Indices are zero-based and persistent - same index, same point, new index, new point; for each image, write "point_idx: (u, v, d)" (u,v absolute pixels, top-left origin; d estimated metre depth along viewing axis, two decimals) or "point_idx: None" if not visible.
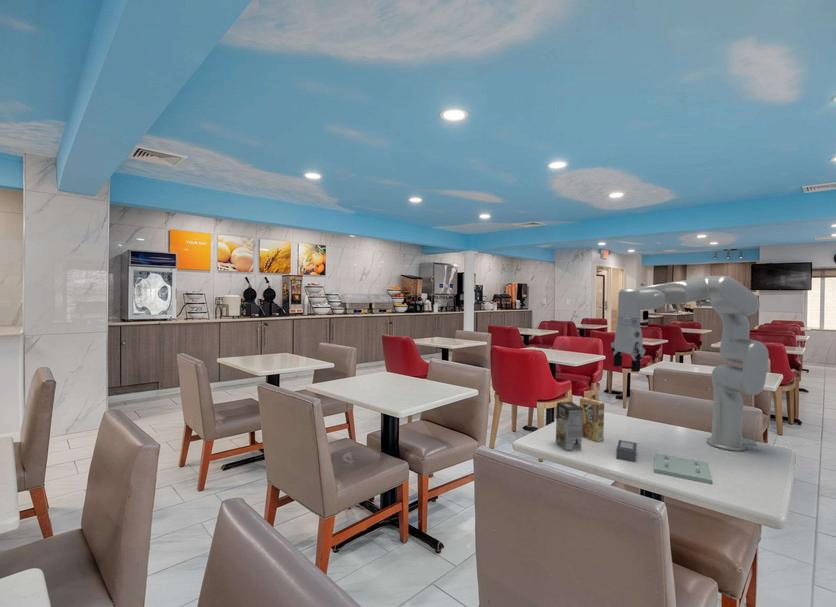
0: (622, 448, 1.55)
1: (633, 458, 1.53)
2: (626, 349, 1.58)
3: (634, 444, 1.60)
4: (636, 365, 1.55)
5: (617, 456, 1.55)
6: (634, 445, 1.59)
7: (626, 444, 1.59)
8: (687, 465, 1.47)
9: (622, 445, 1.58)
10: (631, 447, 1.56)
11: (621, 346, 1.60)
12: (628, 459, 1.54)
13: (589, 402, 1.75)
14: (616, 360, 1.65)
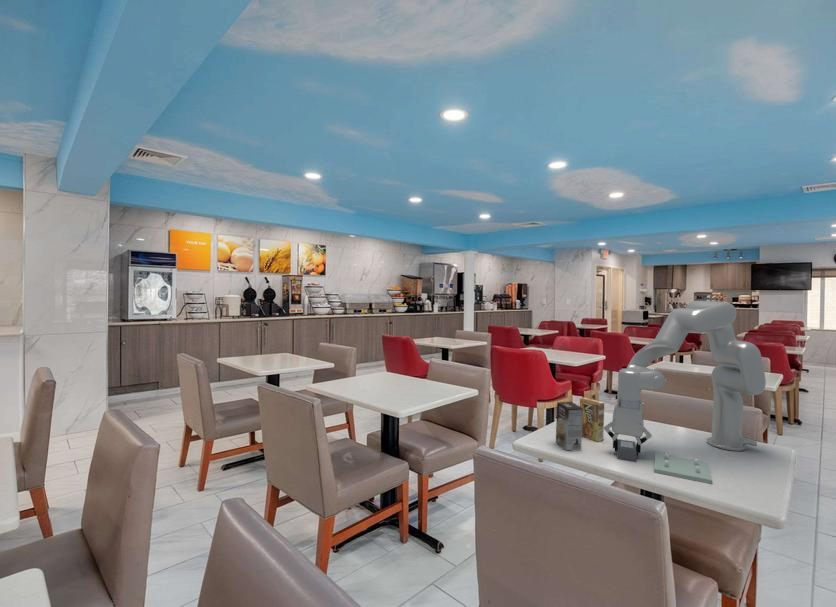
0: (623, 447, 1.55)
1: (634, 457, 1.53)
2: (634, 432, 1.55)
3: (633, 443, 1.60)
4: None
5: (618, 456, 1.55)
6: (633, 444, 1.59)
7: (626, 443, 1.59)
8: (687, 465, 1.47)
9: (622, 444, 1.58)
10: (631, 446, 1.56)
11: (627, 429, 1.56)
12: (629, 458, 1.54)
13: (589, 402, 1.75)
14: (617, 445, 1.59)
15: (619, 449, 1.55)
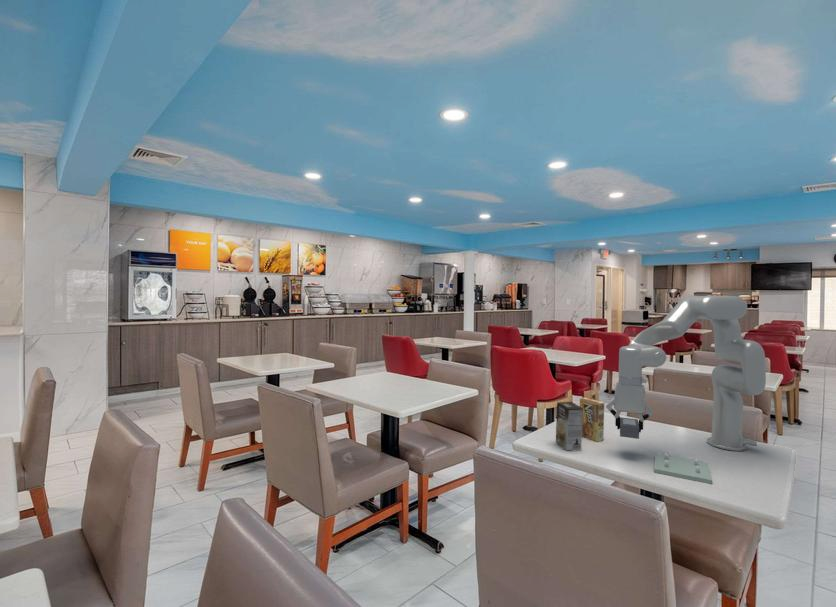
0: (625, 425, 1.55)
1: (637, 434, 1.53)
2: (637, 409, 1.55)
3: (636, 420, 1.60)
4: (642, 425, 1.56)
5: (621, 433, 1.55)
6: (636, 421, 1.59)
7: (628, 421, 1.59)
8: (687, 465, 1.47)
9: (625, 422, 1.58)
10: (634, 423, 1.56)
11: (629, 406, 1.56)
12: (632, 435, 1.53)
13: (589, 402, 1.75)
14: (619, 423, 1.59)
15: (622, 426, 1.55)
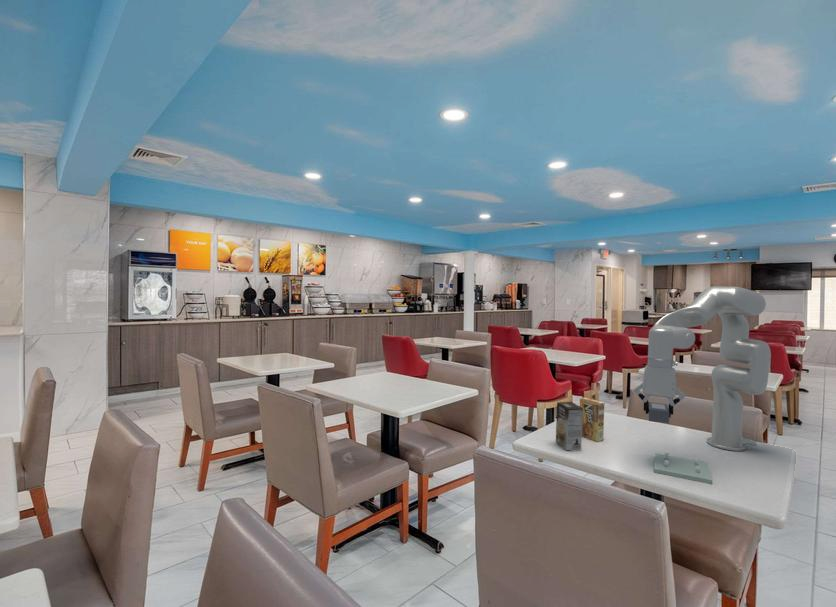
0: (654, 409, 1.49)
1: (667, 418, 1.46)
2: (667, 393, 1.48)
3: (665, 405, 1.53)
4: None
5: (649, 417, 1.49)
6: (665, 406, 1.52)
7: (657, 405, 1.53)
8: (687, 465, 1.47)
9: (653, 406, 1.51)
10: (663, 408, 1.50)
11: (659, 390, 1.49)
12: (661, 420, 1.47)
13: (589, 402, 1.75)
14: None
15: (650, 410, 1.48)
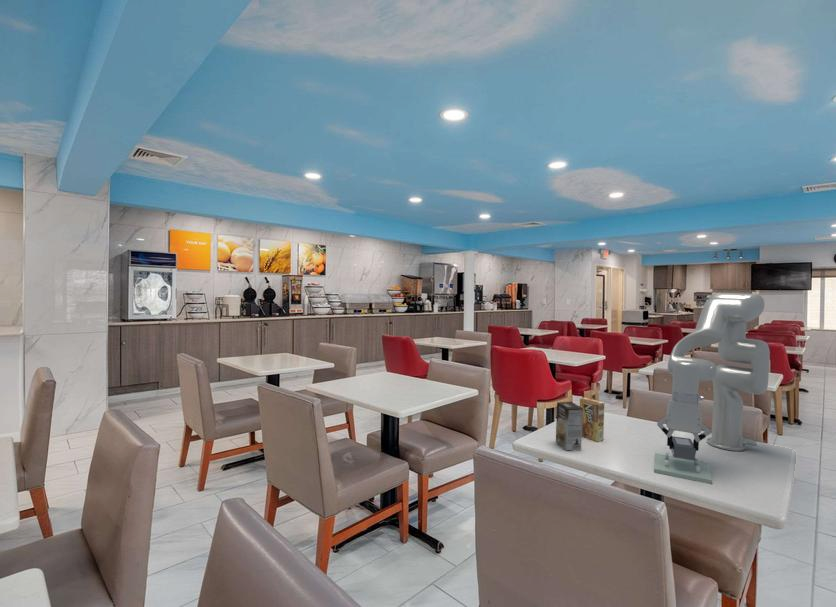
0: (680, 445, 1.44)
1: (693, 455, 1.42)
2: (692, 428, 1.44)
3: (689, 440, 1.49)
4: None
5: (675, 454, 1.44)
6: (690, 441, 1.48)
7: (681, 440, 1.48)
8: (687, 465, 1.47)
9: (678, 442, 1.47)
10: (688, 443, 1.45)
11: (684, 425, 1.45)
12: (687, 457, 1.42)
13: (589, 402, 1.75)
14: None
15: (676, 446, 1.44)
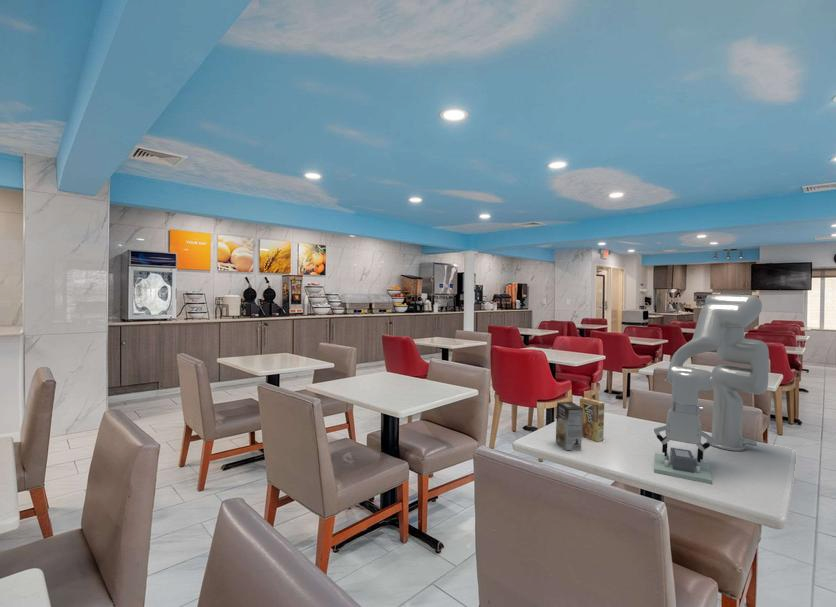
0: (679, 457, 1.44)
1: (692, 468, 1.42)
2: (692, 439, 1.44)
3: (689, 452, 1.49)
4: (702, 455, 1.44)
5: (674, 466, 1.44)
6: (689, 453, 1.48)
7: (681, 452, 1.48)
8: None
9: (677, 453, 1.47)
10: (688, 456, 1.45)
11: (683, 435, 1.45)
12: (686, 469, 1.43)
13: (589, 402, 1.75)
14: None
15: (675, 459, 1.44)
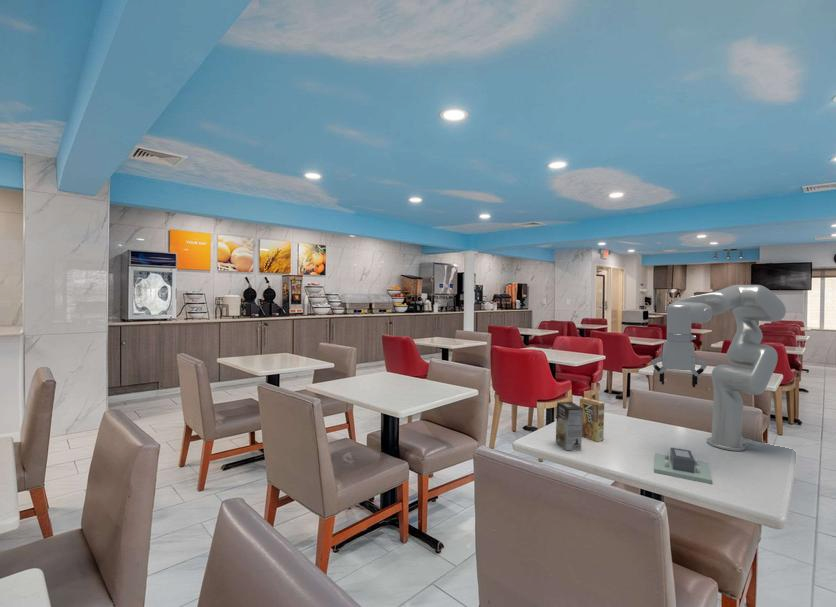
0: (679, 457, 1.44)
1: (692, 468, 1.42)
2: (687, 366, 1.54)
3: (689, 452, 1.49)
4: None
5: (674, 466, 1.44)
6: (689, 453, 1.48)
7: (681, 452, 1.48)
8: None
9: (677, 453, 1.47)
10: (688, 456, 1.45)
11: (678, 363, 1.55)
12: (686, 469, 1.43)
13: (589, 402, 1.75)
14: None
15: (675, 459, 1.44)
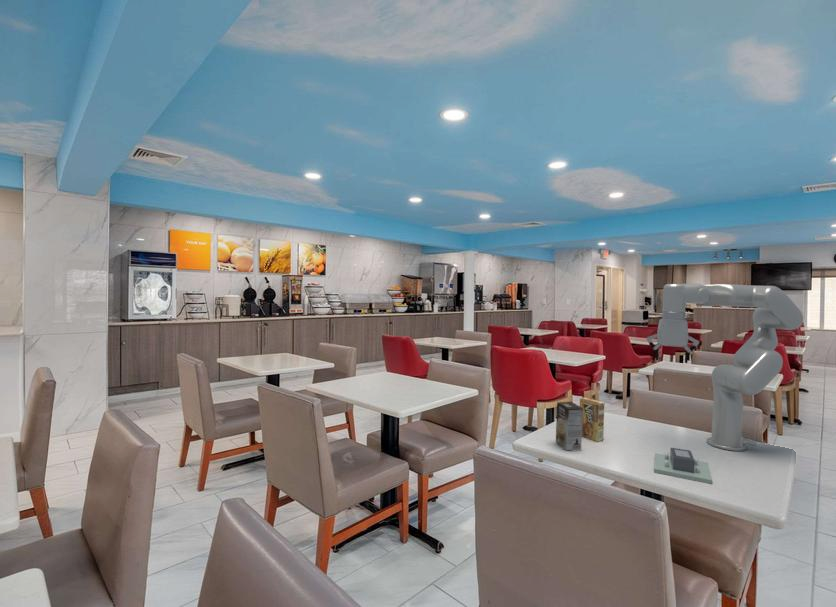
0: (679, 457, 1.44)
1: (692, 468, 1.42)
2: (680, 342, 1.63)
3: (689, 452, 1.49)
4: (689, 356, 1.63)
5: (674, 466, 1.44)
6: (689, 453, 1.48)
7: (681, 452, 1.48)
8: None
9: (677, 453, 1.47)
10: (688, 456, 1.45)
11: (672, 340, 1.64)
12: (686, 469, 1.43)
13: (589, 402, 1.75)
14: None
15: (675, 459, 1.44)
